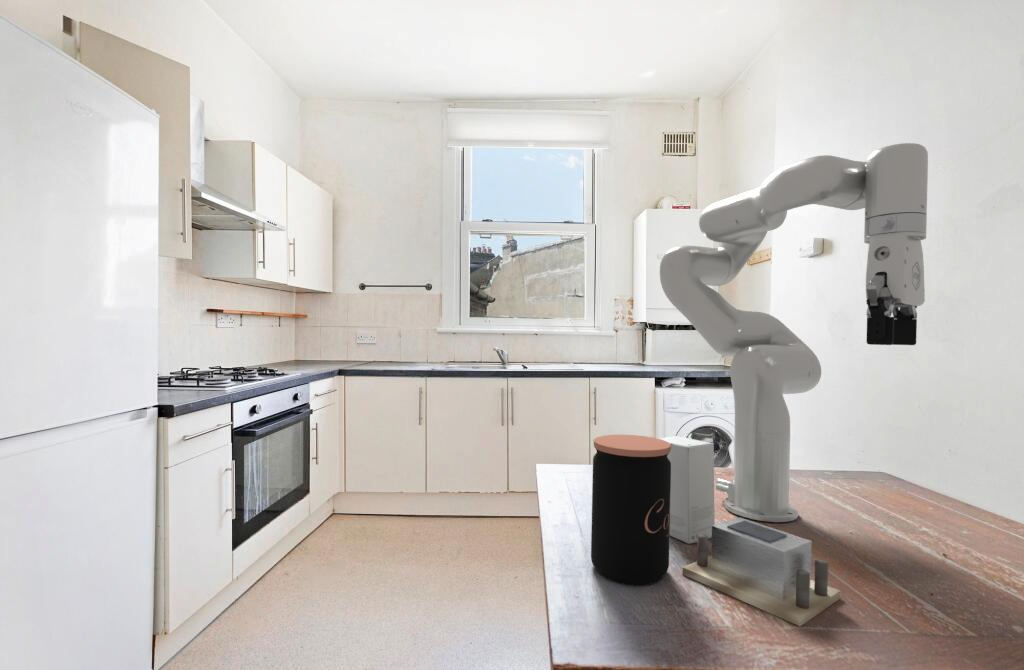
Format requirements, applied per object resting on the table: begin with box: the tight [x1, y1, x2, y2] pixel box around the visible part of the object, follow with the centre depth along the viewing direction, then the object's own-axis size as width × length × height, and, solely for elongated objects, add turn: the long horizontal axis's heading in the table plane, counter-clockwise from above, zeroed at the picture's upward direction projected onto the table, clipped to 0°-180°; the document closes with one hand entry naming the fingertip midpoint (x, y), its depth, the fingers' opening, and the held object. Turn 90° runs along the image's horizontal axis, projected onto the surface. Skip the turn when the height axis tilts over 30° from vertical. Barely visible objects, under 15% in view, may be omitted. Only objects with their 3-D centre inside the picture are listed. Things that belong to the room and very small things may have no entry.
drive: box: [710, 516, 812, 601], centre depth 69 cm, size 10×6×6 cm, turn 34°
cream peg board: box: [681, 534, 841, 627], centre depth 69 cm, size 16×11×5 cm
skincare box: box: [658, 435, 716, 544], centre depth 87 cm, size 8×7×16 cm
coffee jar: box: [590, 434, 671, 587], centre depth 73 cm, size 11×11×18 cm
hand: (891, 344), depth 78 cm, fingers open, 9 cm apart
